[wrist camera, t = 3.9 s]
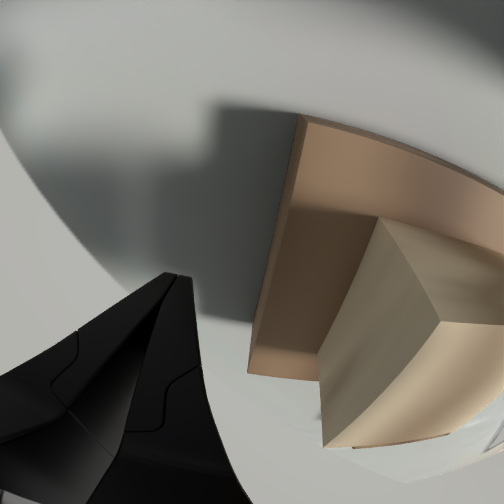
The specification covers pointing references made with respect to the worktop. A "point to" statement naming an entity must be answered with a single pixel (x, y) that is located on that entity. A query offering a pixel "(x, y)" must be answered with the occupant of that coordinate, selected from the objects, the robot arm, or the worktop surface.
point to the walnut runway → (351, 232)
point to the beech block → (413, 340)
